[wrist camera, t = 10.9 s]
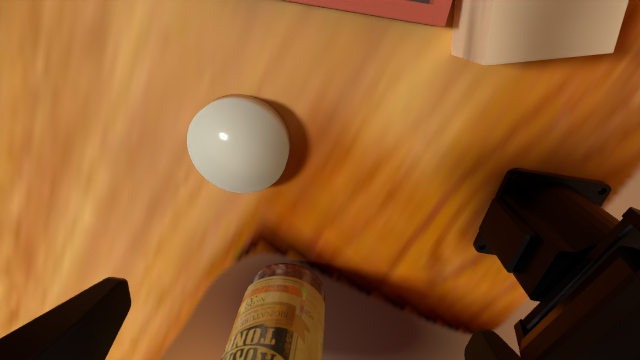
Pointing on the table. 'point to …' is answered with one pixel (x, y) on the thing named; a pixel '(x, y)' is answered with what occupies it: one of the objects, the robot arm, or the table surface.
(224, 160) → the glossy white dome
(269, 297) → the sauce bottle
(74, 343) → the robot arm
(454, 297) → the table surface
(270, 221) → the table surface
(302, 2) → the lacquer tray
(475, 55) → the wooden masu box
